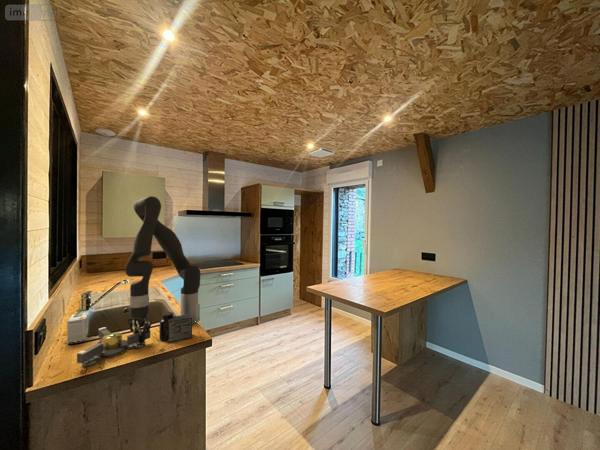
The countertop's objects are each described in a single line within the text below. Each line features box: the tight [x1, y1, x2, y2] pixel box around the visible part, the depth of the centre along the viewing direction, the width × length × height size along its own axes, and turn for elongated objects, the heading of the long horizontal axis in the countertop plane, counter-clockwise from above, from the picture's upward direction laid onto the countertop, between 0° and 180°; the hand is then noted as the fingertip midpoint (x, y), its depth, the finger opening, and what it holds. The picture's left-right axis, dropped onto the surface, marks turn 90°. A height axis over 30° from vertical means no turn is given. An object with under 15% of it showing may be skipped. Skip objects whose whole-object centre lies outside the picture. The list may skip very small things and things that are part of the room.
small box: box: [167, 314, 193, 343], centre depth 120 cm, size 11×6×10 cm, turn 118°
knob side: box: [98, 326, 112, 342], centre depth 114 cm, size 9×2×5 cm, turn 54°
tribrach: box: [81, 332, 146, 368], centre depth 108 cm, size 22×21×7 cm
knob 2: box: [126, 329, 151, 345], centre depth 112 cm, size 9×2×5 cm, turn 145°
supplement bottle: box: [158, 311, 174, 342], centre depth 120 cm, size 7×7×12 cm
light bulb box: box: [66, 311, 89, 345], centre depth 119 cm, size 11×7×11 cm, turn 35°
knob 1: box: [76, 342, 103, 364], centre depth 98 cm, size 9×2×5 cm, turn 174°
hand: (139, 341), depth 112 cm, fingers closed on knob 2, 3 cm apart
